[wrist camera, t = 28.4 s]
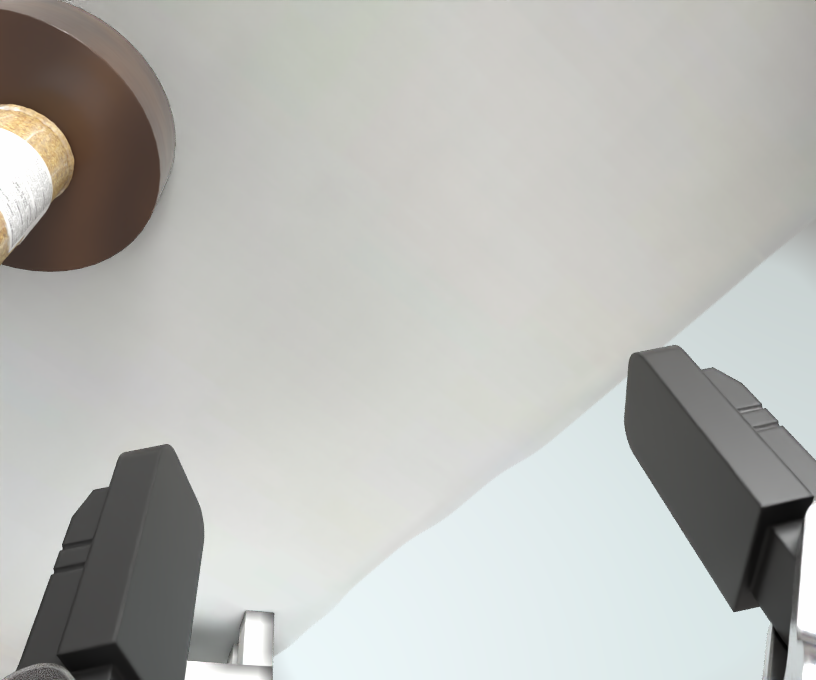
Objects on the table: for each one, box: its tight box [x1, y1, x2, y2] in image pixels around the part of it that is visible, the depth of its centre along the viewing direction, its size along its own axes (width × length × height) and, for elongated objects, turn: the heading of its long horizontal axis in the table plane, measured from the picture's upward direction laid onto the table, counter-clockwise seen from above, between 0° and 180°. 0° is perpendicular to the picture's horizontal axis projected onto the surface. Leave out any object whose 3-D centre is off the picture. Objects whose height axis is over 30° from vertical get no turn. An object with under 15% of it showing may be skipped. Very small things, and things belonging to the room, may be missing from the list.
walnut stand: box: [0, 0, 176, 272], centre depth 32 cm, size 12×12×5 cm
